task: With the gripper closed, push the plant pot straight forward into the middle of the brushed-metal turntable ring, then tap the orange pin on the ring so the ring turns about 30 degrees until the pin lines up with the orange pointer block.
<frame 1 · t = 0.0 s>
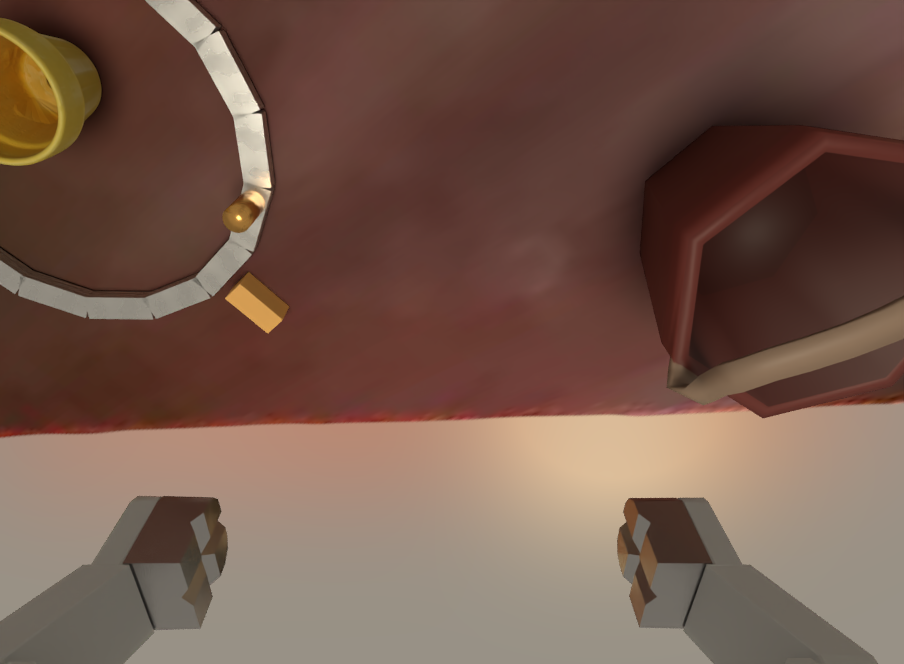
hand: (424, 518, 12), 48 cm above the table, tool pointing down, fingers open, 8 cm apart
bucket: (716, 206, 58), on the table
plant pot: (64, 80, 52), resting in turntable ring
turntable ring: (60, 152, 51), point 3 cm above the table, hinge at 0.0°
pointer block: (262, 296, 62), on the table
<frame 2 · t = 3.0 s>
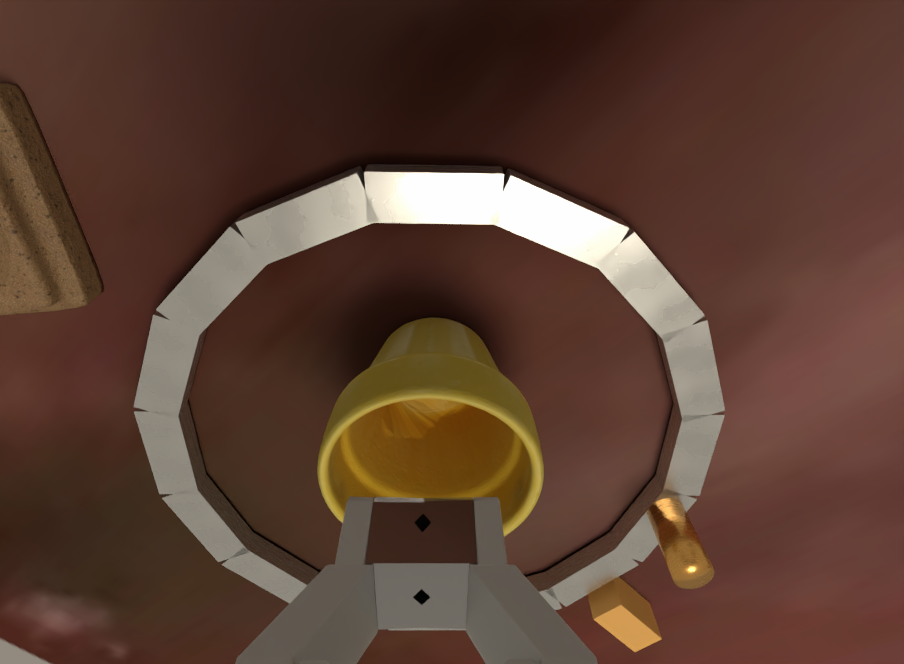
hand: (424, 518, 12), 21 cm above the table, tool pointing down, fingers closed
plant pot: (433, 364, 35), resting in turntable ring
turntable ring: (432, 475, 35), point 3 cm above the table, hinge at 0.0°
pointer block: (617, 593, 46), on the table
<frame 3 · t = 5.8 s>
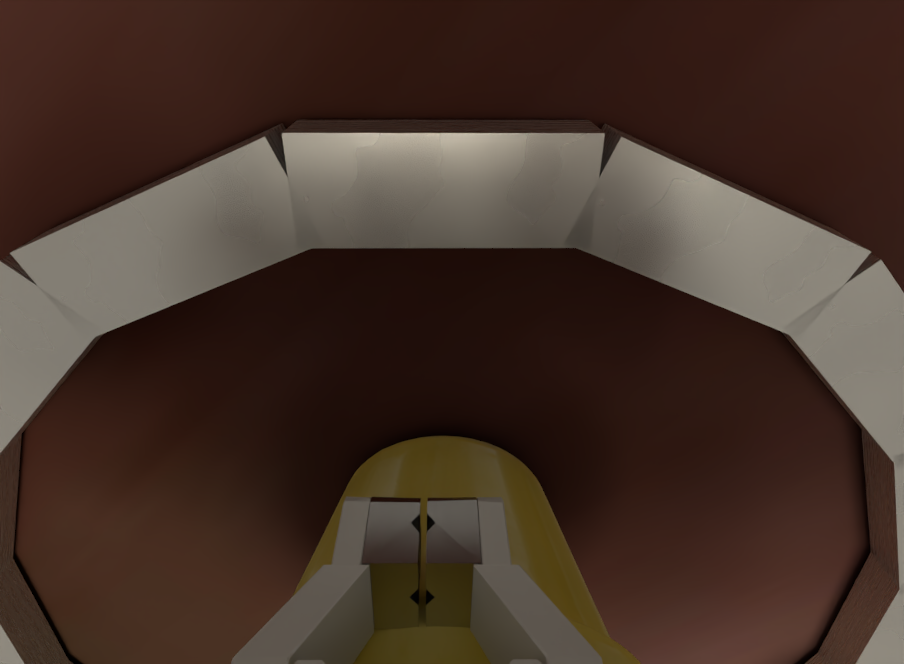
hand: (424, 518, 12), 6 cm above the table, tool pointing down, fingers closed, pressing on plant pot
plant pot: (442, 504, 20), resting in turntable ring, touching gripper
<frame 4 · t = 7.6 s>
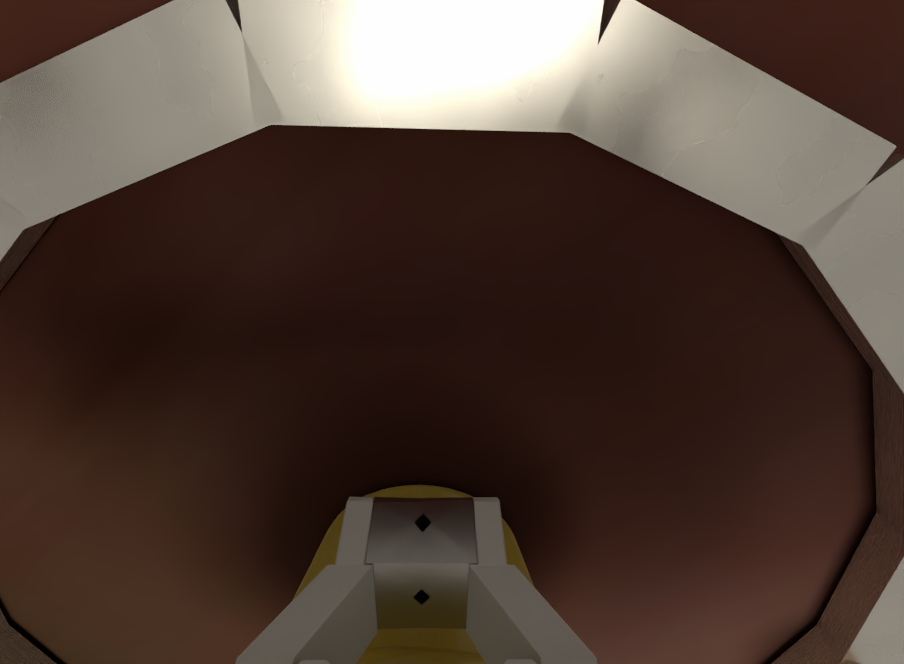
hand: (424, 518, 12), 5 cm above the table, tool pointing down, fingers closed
plant pot: (418, 550, 20), resting in turntable ring
turntable ring: (418, 663, 17), point 3 cm above the table, hinge at 0.0°
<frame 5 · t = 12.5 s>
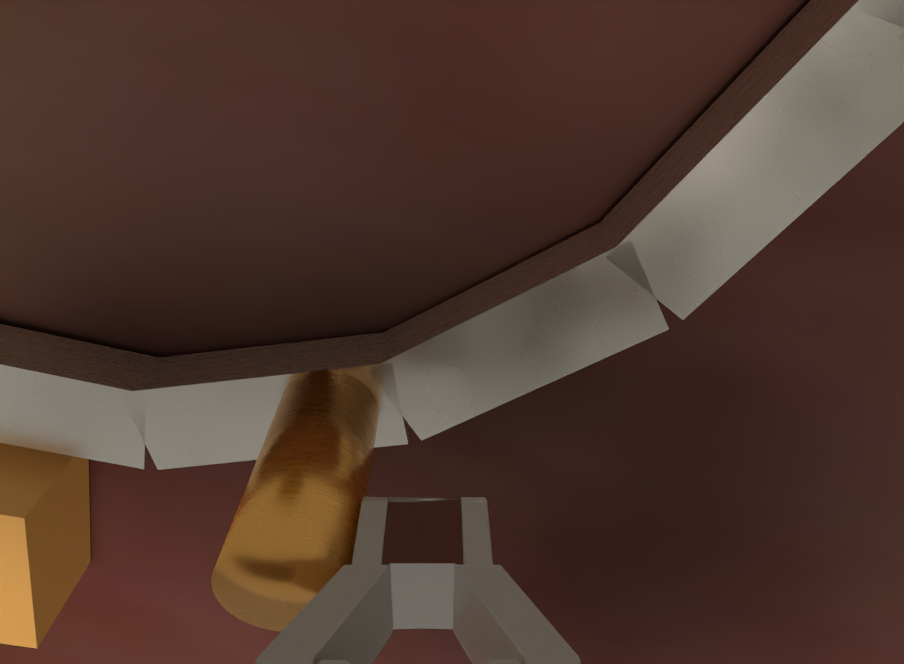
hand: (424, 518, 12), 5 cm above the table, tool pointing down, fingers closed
pointer block: (48, 496, 18), on the table
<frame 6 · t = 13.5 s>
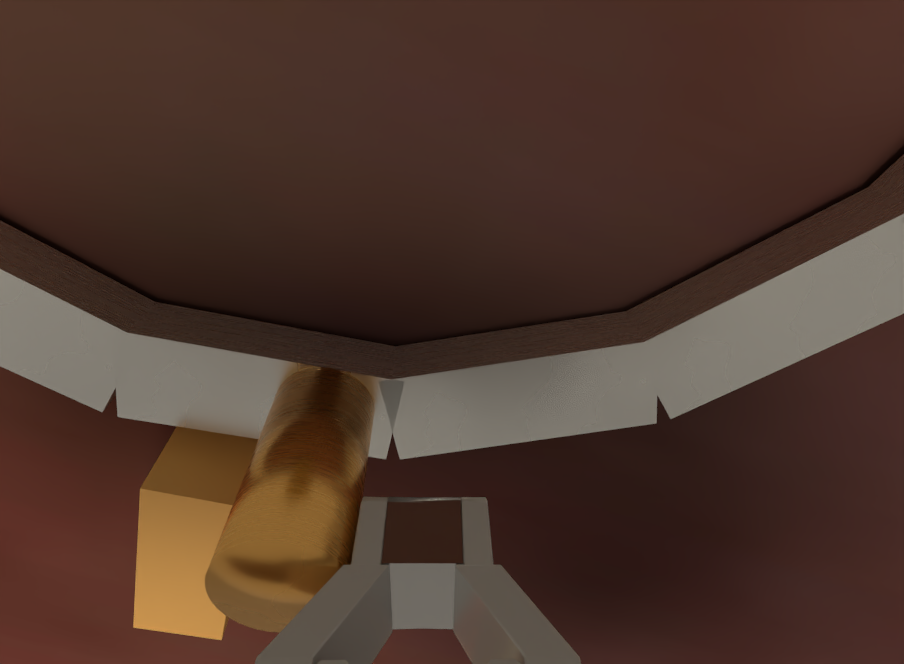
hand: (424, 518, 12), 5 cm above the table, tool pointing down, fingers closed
pointer block: (221, 487, 18), on the table
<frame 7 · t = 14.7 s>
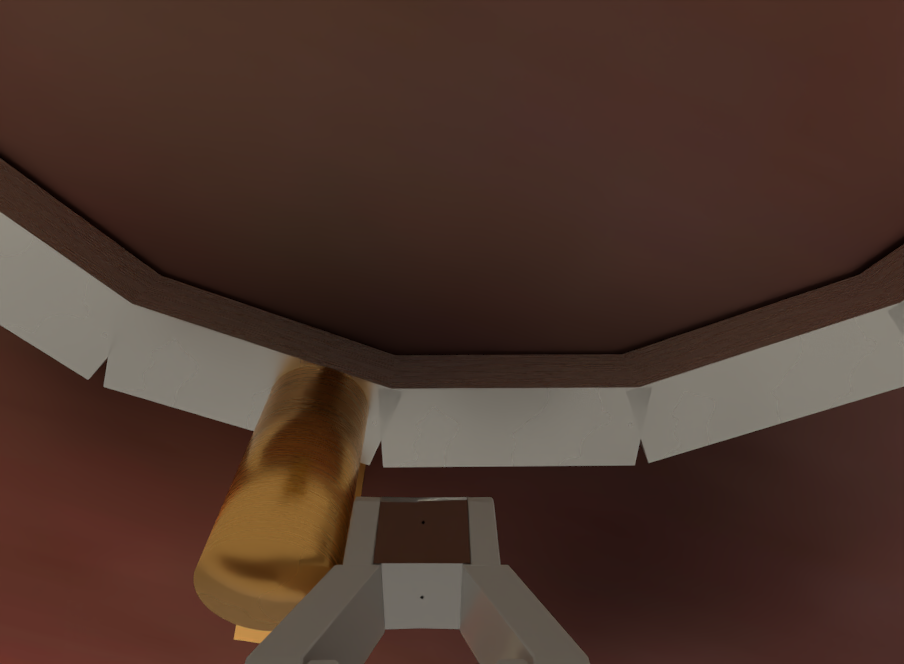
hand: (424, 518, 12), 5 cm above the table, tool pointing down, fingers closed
pointer block: (312, 500, 18), on the table
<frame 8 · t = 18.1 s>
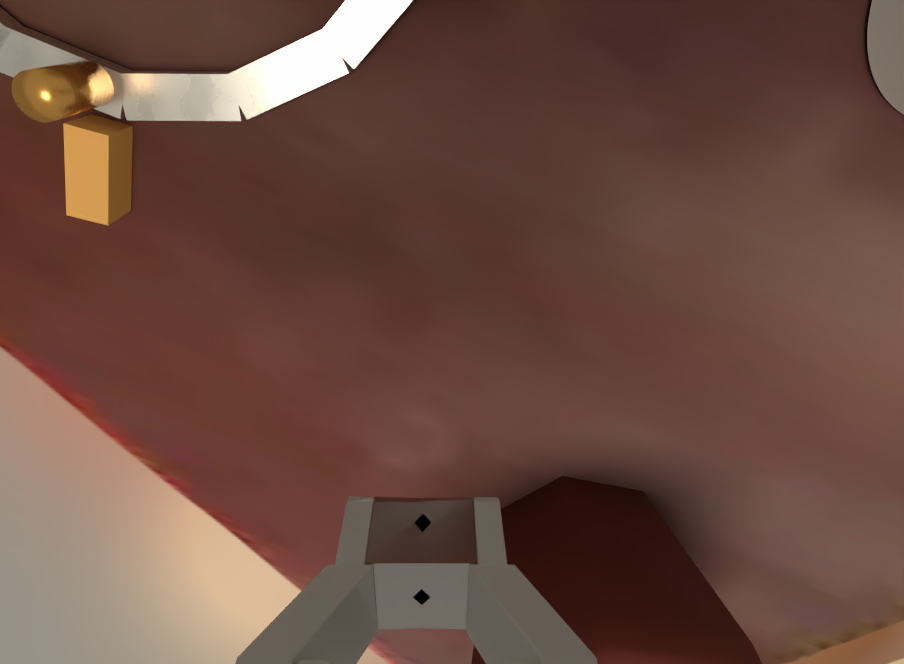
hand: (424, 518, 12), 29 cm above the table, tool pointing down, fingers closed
bucket: (574, 537, 55), on the table
pointer block: (112, 164, 37), on the table
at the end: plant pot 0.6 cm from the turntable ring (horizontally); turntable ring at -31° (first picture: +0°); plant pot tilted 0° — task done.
